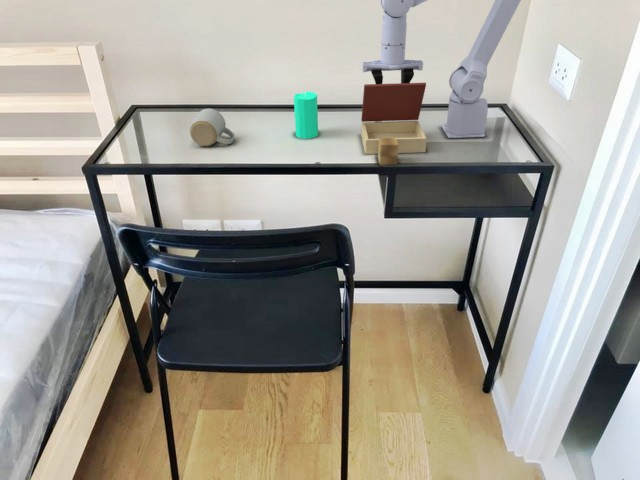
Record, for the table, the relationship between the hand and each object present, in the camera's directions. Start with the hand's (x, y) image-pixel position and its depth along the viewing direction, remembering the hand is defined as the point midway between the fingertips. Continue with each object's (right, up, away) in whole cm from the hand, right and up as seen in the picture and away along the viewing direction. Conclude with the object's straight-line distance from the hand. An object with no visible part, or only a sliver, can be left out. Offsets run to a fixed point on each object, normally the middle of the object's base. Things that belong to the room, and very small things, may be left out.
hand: (390, 99), depth 134 cm
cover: (0, -2, -3) cm, 3 cm away
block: (-2, -17, -9) cm, 19 cm away
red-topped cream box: (0, -11, 0) cm, 11 cm away
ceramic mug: (-45, -10, +5) cm, 46 cm away
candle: (-21, -8, +7) cm, 24 cm away
